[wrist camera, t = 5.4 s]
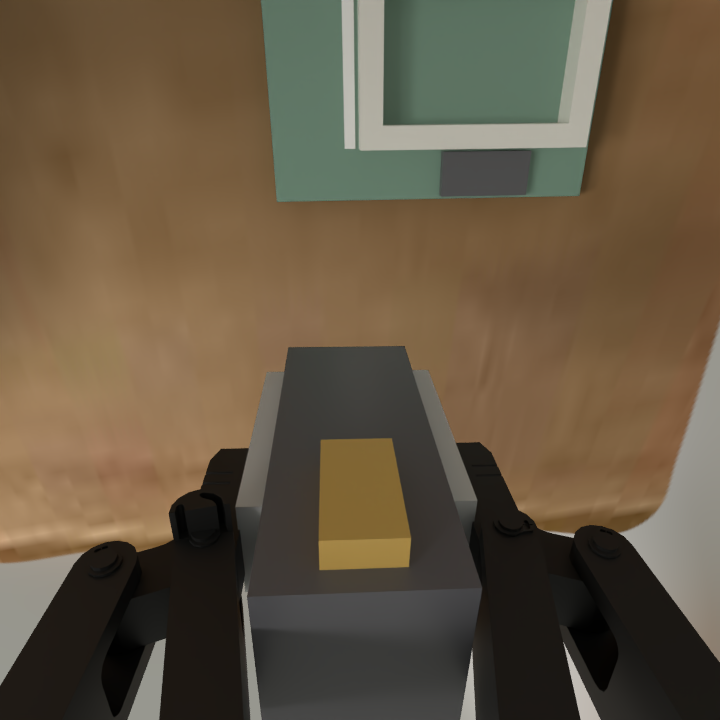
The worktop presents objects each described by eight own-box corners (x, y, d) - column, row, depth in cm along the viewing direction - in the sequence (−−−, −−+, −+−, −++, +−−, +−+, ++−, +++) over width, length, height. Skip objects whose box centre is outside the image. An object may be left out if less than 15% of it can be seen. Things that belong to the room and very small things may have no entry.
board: (278, 198, 31) (274, 206, 28) (255, -103, 25) (247, -126, 22) (570, 192, 32) (590, 199, 29) (619, -100, 26) (649, -121, 23)
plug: (293, 443, 19) (263, 734, 10) (287, 328, 17) (242, 566, 8) (399, 441, 20) (459, 724, 11) (405, 327, 17) (487, 559, 8)
